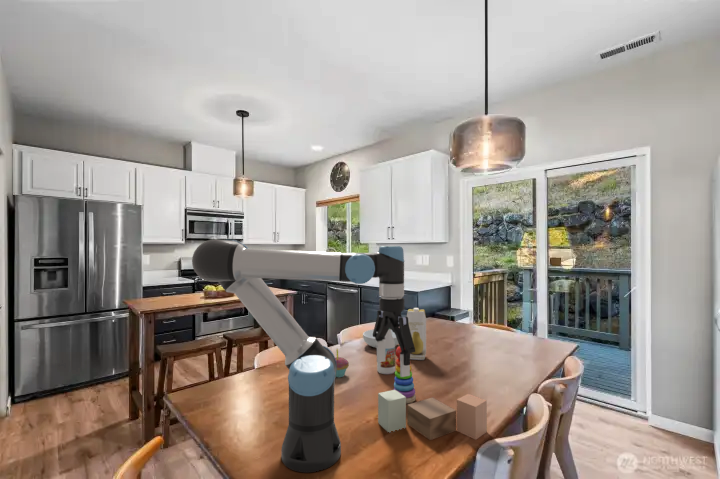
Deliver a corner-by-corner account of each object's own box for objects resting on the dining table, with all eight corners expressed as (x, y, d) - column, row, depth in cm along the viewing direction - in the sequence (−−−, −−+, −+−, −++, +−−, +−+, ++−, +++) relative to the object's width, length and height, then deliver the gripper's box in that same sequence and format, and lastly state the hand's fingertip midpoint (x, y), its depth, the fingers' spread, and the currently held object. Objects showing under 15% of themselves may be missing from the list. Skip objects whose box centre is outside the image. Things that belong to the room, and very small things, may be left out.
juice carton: (406, 360, 162) (406, 308, 162) (406, 354, 169) (406, 305, 170) (426, 361, 160) (426, 309, 160) (426, 355, 168) (425, 306, 168)
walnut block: (430, 441, 95) (429, 419, 95) (407, 424, 104) (407, 404, 104) (456, 431, 100) (456, 410, 100) (432, 416, 109) (432, 397, 109)
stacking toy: (400, 392, 126) (400, 341, 126) (420, 398, 121) (419, 345, 121) (388, 400, 120) (388, 345, 120) (408, 406, 114) (408, 350, 115)
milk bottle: (374, 372, 145) (374, 325, 146) (381, 367, 152) (381, 321, 153) (391, 376, 142) (391, 327, 142) (398, 370, 149) (397, 323, 149)
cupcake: (345, 380, 138) (345, 349, 138) (325, 378, 139) (325, 348, 140) (350, 372, 146) (350, 343, 146) (331, 370, 148) (331, 342, 148)
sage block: (388, 432, 99) (388, 401, 99) (378, 423, 104) (378, 393, 104) (405, 427, 101) (405, 397, 101) (395, 418, 107) (395, 389, 107)
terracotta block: (475, 439, 95) (475, 406, 95) (456, 430, 100) (456, 399, 100) (486, 432, 99) (486, 400, 99) (468, 423, 104) (467, 393, 104)
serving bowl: (357, 342, 191) (357, 330, 191) (392, 339, 197) (392, 327, 197) (370, 353, 171) (370, 339, 171) (408, 350, 177) (408, 336, 177)
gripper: (427, 302, 94) (428, 380, 93) (382, 291, 116) (382, 354, 116) (404, 304, 91) (405, 385, 90) (362, 293, 113) (362, 358, 113)
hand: (392, 368), depth 103 cm, fingers open, 13 cm apart
